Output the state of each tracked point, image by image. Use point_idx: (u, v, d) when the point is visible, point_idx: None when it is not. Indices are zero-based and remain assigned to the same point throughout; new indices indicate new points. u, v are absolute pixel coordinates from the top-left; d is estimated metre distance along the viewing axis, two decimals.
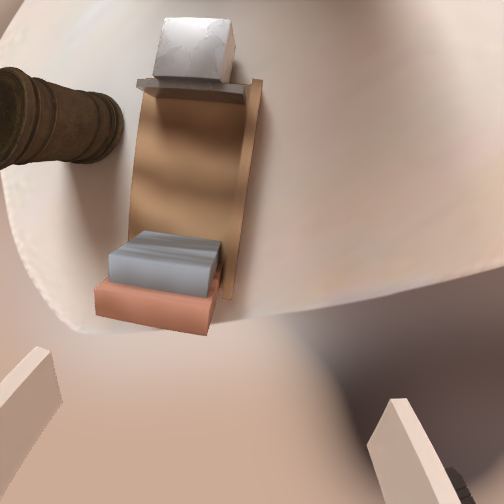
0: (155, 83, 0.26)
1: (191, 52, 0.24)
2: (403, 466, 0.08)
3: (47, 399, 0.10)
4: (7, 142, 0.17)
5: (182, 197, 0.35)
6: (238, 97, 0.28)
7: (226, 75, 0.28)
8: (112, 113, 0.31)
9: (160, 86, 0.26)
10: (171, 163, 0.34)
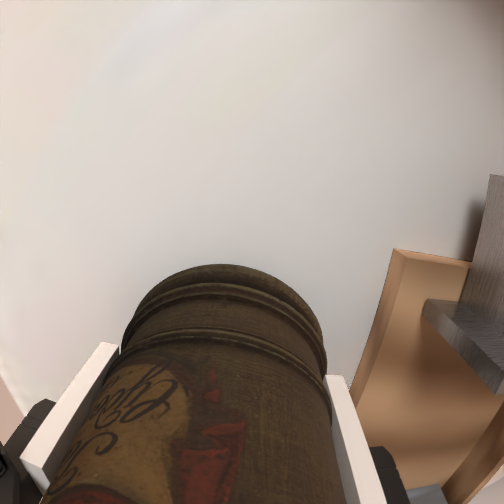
0: None
1: None
2: None
3: None
4: None
5: (413, 459, 0.16)
6: None
7: None
8: (322, 363, 0.12)
9: None
10: (415, 424, 0.15)
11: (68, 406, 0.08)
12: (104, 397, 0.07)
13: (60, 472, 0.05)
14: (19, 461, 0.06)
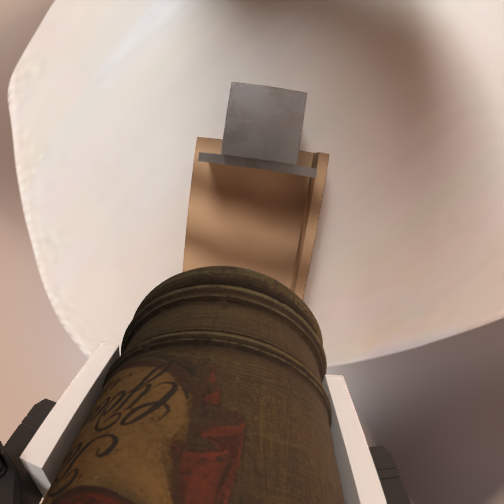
0: (220, 159, 0.26)
1: (264, 130, 0.24)
2: None
3: None
4: None
5: None
6: None
7: None
8: (322, 365, 0.12)
9: (226, 163, 0.26)
10: (227, 233, 0.34)
11: (68, 406, 0.08)
12: (104, 399, 0.07)
13: (61, 474, 0.05)
14: (19, 461, 0.06)
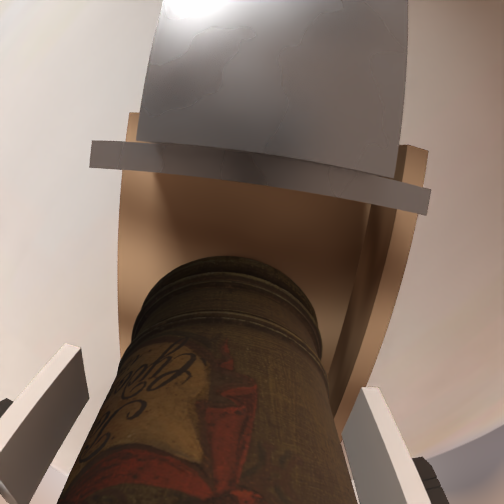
0: (149, 157, 0.08)
1: (287, 57, 0.06)
2: (372, 453, 0.09)
3: (76, 395, 0.10)
4: None
5: None
6: None
7: None
8: (318, 345, 0.14)
9: (166, 169, 0.08)
10: None
11: (23, 407, 0.07)
12: (126, 373, 0.09)
13: (91, 441, 0.06)
14: None
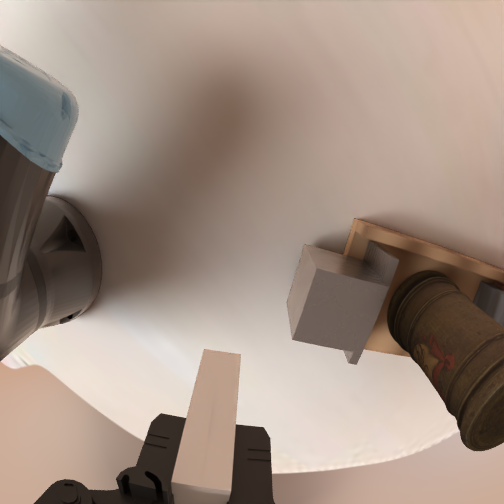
0: None
1: (349, 314, 0.24)
2: None
3: None
4: None
5: None
6: None
7: (359, 267, 0.27)
8: (436, 280, 0.28)
9: (365, 341, 0.26)
10: None
11: (201, 418, 0.09)
12: (419, 364, 0.25)
13: None
14: None
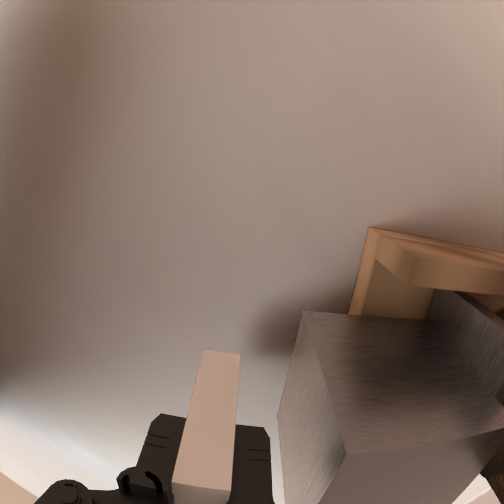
0: None
1: (422, 495, 0.07)
2: None
3: None
4: None
5: None
6: None
7: (435, 360, 0.10)
8: None
9: None
10: None
11: (201, 418, 0.09)
12: (497, 496, 0.08)
13: None
14: None
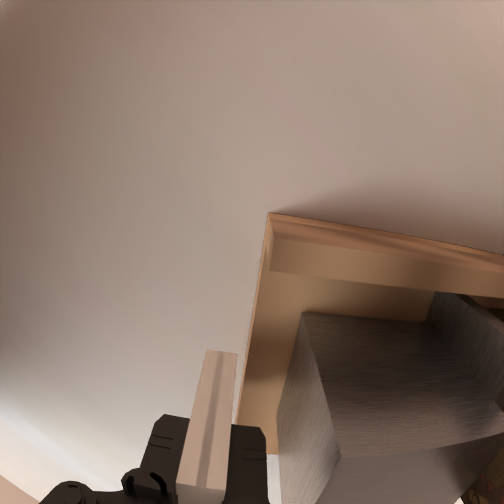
0: None
1: (419, 499, 0.07)
2: None
3: None
4: None
5: None
6: None
7: (434, 363, 0.10)
8: None
9: None
10: None
11: (205, 419, 0.09)
12: None
13: None
14: None
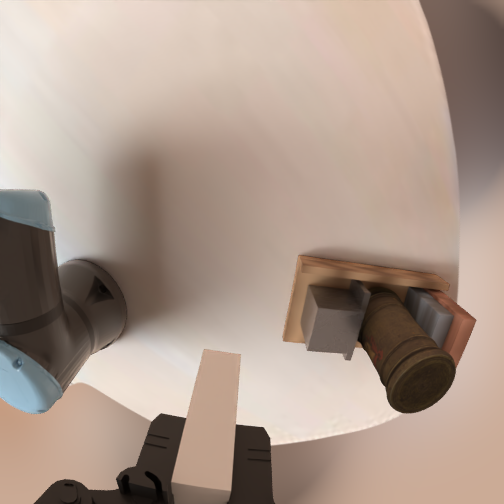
0: None
1: (341, 331, 0.38)
2: None
3: None
4: (447, 368, 0.28)
5: None
6: None
7: (345, 298, 0.41)
8: (379, 295, 0.42)
9: (354, 345, 0.40)
10: None
11: (201, 418, 0.09)
12: None
13: None
14: None
